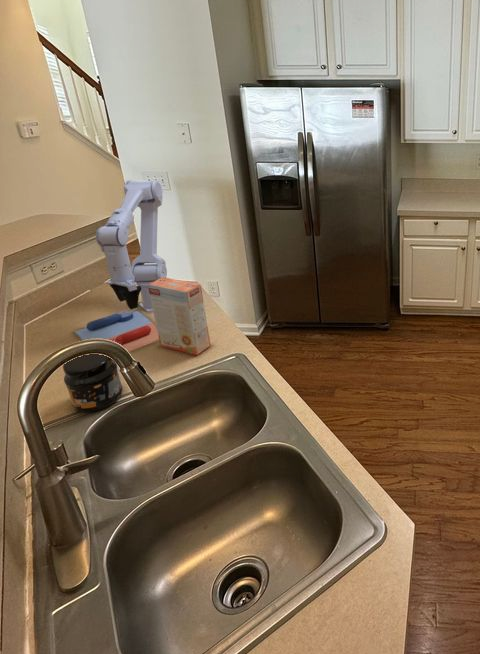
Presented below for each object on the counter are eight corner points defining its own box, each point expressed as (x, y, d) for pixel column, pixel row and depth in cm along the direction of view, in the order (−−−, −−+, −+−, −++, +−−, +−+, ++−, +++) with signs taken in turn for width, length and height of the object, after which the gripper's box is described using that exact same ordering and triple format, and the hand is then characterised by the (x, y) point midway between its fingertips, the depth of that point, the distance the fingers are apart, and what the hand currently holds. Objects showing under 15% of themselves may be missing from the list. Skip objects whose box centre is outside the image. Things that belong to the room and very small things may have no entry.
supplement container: (61, 410, 104) (48, 368, 99) (100, 382, 113) (88, 344, 109) (98, 418, 101) (85, 376, 97) (133, 389, 111) (123, 350, 107)
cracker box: (212, 345, 130) (201, 283, 122) (197, 356, 125) (185, 292, 117) (175, 336, 134) (163, 275, 127) (159, 346, 129) (146, 283, 121)
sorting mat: (137, 311, 148) (137, 310, 148) (169, 336, 134) (168, 335, 134) (75, 332, 135) (74, 331, 135) (103, 363, 121) (102, 361, 121)
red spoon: (148, 329, 137) (146, 322, 136) (154, 334, 134) (153, 327, 133) (101, 347, 127) (99, 339, 126) (107, 353, 125) (105, 344, 124)
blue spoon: (90, 334, 134) (88, 326, 132) (85, 328, 136) (83, 321, 135) (135, 318, 143) (134, 310, 142) (130, 313, 146) (128, 306, 145)
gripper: (95, 262, 131) (105, 301, 136) (113, 275, 122) (123, 317, 127) (120, 255, 136) (129, 293, 141) (140, 268, 127) (149, 308, 132)
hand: (128, 304), depth 134 cm, fingers open, 7 cm apart
